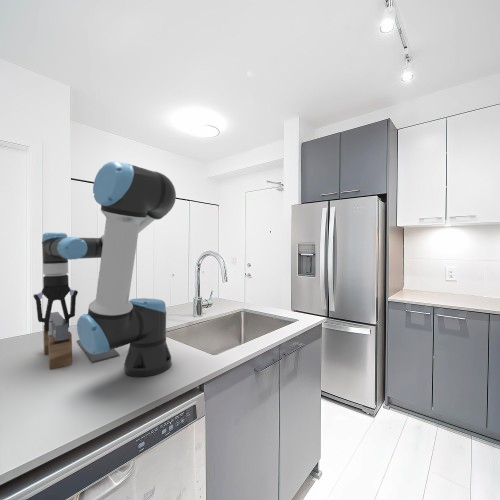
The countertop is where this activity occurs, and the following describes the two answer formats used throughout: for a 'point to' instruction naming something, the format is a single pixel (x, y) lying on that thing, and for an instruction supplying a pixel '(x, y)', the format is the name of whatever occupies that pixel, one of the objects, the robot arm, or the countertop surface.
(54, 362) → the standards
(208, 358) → the countertop surface
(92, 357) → the mat
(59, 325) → the rail
